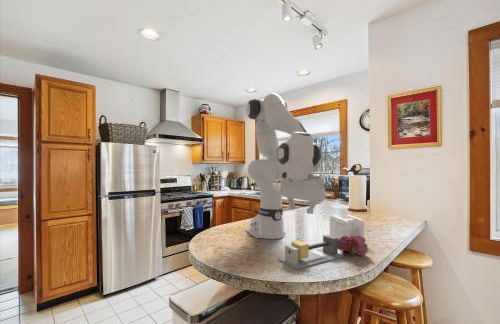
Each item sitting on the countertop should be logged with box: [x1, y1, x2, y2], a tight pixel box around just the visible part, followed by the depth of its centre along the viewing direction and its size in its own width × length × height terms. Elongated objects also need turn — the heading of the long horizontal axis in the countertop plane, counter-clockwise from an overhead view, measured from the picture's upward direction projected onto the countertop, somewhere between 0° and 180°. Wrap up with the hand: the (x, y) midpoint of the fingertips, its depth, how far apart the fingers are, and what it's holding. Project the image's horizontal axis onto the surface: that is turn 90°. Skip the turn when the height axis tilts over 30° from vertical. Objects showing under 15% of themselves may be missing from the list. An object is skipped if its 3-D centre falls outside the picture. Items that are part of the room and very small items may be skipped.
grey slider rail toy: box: [278, 234, 345, 271], centre depth 94 cm, size 10×25×7 cm, turn 122°
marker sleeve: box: [290, 240, 310, 260], centre depth 91 cm, size 5×4×5 cm
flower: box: [338, 235, 368, 257], centre depth 99 cm, size 11×10×10 cm
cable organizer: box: [329, 214, 365, 239], centre depth 117 cm, size 15×11×12 cm
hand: (300, 211), depth 91 cm, fingers open, 8 cm apart
